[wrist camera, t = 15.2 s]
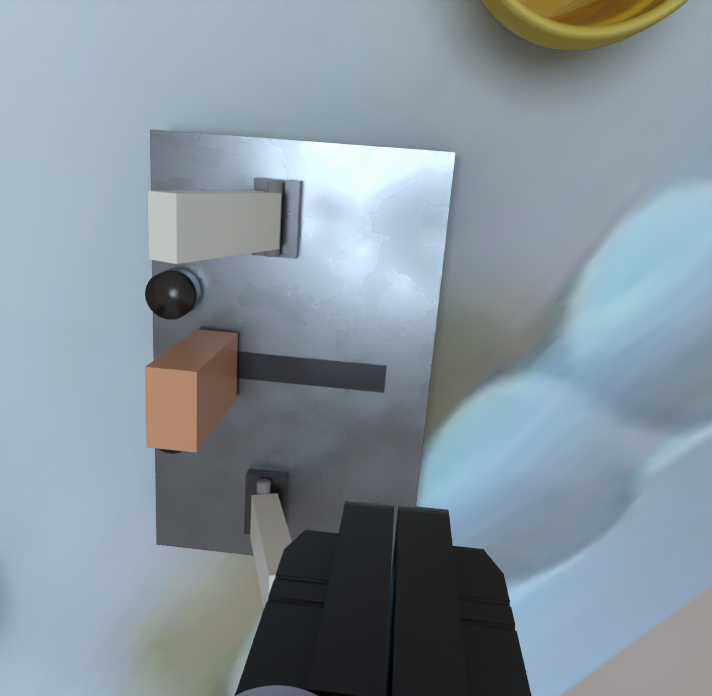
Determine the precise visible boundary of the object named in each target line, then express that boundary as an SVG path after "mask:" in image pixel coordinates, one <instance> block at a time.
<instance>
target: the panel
mask: <svg viewBox="0 0 712 696" xmlns="http://www.w3.org/2000/svg"><path fill="white" fill-rule="evenodd" d="M150 161H151V190H257V191H267V181H277V182H283V187H282V212H281V237H280V257H266V256H264V252H265V251H263V252H256V253H249V254H243V255H236V256H229V257H222V258H215V259H208V260H201V261H194V262H187V263H180V264H174V263H168V262H162V261H157V260H152V278H151V279H150V281H149V282H148V284H147V286H146V291H145V297H146V301H147V304H148V306H149V307H150V309H151V310H152V311H153V348H154V360H155V359H157V358H158V357H159V356H161V355H162V354H163V353H165V352H166V351H167V350H169V349H170V348H171V347H173V346H174V345H175V344H177V343H178V342H179V341H181V340H182V339H183V338H185V337H186V336H187V335H189V334H190V333H191V332H193V331H194V330H195V329H200V330H211V331H222V332H232V333H238V347H237V392H236V401H235V402H234V403H233V405H232V406H231V407H230V409H229V410H228V411H227V413H226V414H225V415H224V417H223V418H222V419H221V421H220V422H219V423H218V425H217V426H216V427H215V429H214V430H213V431H212V433H211V434H210V435H209V437H208V438H207V439H206V441H205V442H204V443H203V445H202V446H201V447H200V449H199V450H198V451H197V452H187V451H178V450H168V449H159V448H155V473H156V536H157V545H166V546H175V547H184V548H192V549H201V550H210V551H219V552H227V553H236V554H245V555H253V550H252V544H251V539H250V528H251V496H252V495H256V492H257V481H258V480H260V479H268V480H270V482H271V487H270V494H275V493H278V497H279V500H280V503H281V507H282V510H283V513H284V517H285V520H286V524H287V527H288V530H289V534H290V537H291V540H292V541H294V540H295V539H296V538H297V537H298V536H299V535H300V534H301V533H302V532H303V531H305V530H313V531H322V532H331V533H339V529H340V524H341V519H342V514H343V509H344V504H345V500H346V499H349V500H359V501H368V502H377V503H386V504H394V523H393V543H392V560H393V550H394V541H395V531H396V521H397V512H398V505H407V506H416V500H417V491H418V482H419V473H420V464H421V455H422V446H423V437H424V428H425V419H426V411H427V402H428V393H429V384H430V375H431V366H432V357H433V348H434V339H435V330H436V321H437V312H438V303H439V295H440V286H441V277H442V268H443V259H444V250H445V241H446V232H447V223H448V214H449V205H450V196H451V188H452V179H453V170H454V161H455V152H443V151H429V150H416V149H403V148H389V147H376V146H363V145H349V144H336V143H322V142H309V141H296V140H282V139H269V138H256V137H242V136H229V135H215V134H202V133H189V132H175V131H162V130H150ZM391 570H392V563H391Z"/></svg>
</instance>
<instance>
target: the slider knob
mask: <svg viewBox="0 0 712 696" xmlns="http://www.w3.org/2000/svg"><path fill="white" fill-rule="evenodd" d="M237 347H238V333H232V332H222V331H211V330H200V329H195V330H194V331H193V332H191V333H190V334H189V335H187V336H186V337H185V338H183V339H182V340H181V341H179V342H178V343H177V344H175V345H174V346H173V347H171V348H170V349H169V350H167V351H166V352H165V353H163V354H162V355H161V356H159V357H158V358H157V359H155V360H154V361H153V362H151V363H150V364H148V365H147V366H146V367H145V380H146V430H147V447H149V448H159V449H168V450H178V451H187V452H197V451H198V450H199V449H200V447H201V446H202V445H203V443H204V442H205V441H206V439H207V438H208V437H209V435H210V434H211V433H212V431H213V430H214V429H215V427H216V426H217V425H218V423H219V422H220V421H221V419H222V418H223V417H224V415H225V414H226V413H227V411H228V410H229V409H230V407H231V406H232V405H233V403H234V402H235V401H236V392H237Z"/></svg>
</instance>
